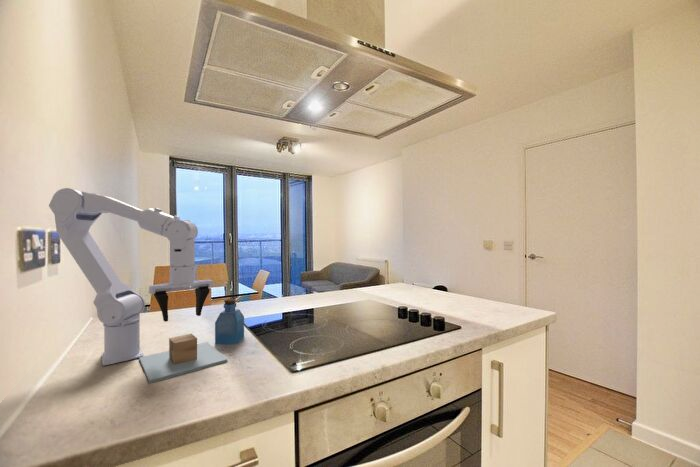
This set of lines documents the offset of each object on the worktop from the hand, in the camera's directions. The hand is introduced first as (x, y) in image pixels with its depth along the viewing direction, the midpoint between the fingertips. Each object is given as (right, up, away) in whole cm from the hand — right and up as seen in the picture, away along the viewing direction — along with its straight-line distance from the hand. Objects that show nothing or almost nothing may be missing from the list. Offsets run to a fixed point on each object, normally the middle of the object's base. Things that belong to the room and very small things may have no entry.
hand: (182, 317), depth 79 cm
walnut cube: (+3, -9, -5) cm, 10 cm away
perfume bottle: (+8, -10, +10) cm, 16 cm away
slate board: (+3, -9, -4) cm, 11 cm away
